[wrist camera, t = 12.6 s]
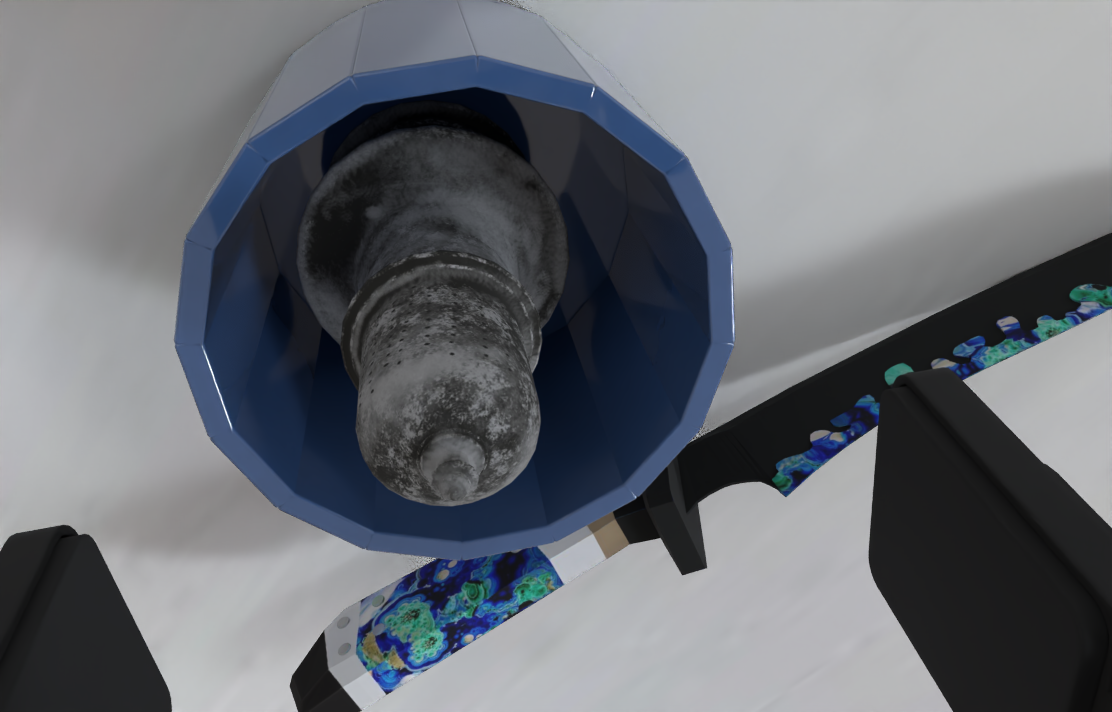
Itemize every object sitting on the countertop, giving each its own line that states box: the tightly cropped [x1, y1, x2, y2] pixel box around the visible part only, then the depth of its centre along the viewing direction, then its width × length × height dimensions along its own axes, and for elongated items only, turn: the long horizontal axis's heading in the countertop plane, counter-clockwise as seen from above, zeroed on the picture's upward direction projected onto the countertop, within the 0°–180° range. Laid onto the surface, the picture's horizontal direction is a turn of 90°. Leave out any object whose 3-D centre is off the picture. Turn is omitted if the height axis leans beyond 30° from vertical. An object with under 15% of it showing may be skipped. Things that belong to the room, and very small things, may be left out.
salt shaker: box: [296, 100, 570, 506], centre depth 18 cm, size 6×6×12 cm
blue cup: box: [174, 0, 735, 561], centre depth 20 cm, size 10×10×8 cm
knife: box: [290, 233, 1112, 712], centre depth 27 cm, size 31×3×4 cm, turn 110°
